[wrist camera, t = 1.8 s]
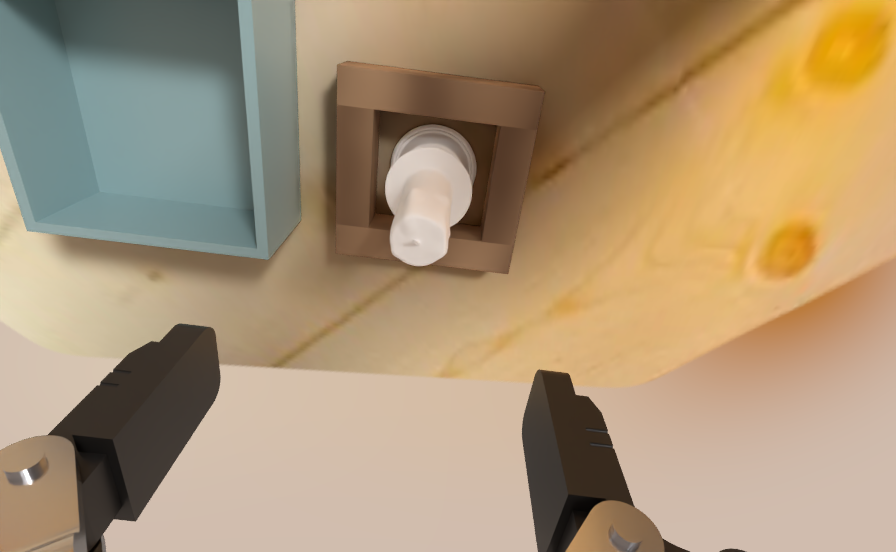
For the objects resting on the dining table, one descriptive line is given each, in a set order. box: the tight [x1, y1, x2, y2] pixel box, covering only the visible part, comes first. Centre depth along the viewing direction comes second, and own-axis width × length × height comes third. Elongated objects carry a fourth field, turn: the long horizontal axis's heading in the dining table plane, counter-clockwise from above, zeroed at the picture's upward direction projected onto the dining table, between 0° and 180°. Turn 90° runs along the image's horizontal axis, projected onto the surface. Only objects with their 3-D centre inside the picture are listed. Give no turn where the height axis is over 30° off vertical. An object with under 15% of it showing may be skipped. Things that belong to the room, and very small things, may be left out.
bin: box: [0, 0, 301, 260], centre depth 26 cm, size 13×13×6 cm
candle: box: [385, 124, 476, 266], centre depth 25 cm, size 5×5×12 cm
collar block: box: [336, 61, 545, 274], centre depth 29 cm, size 11×11×2 cm
